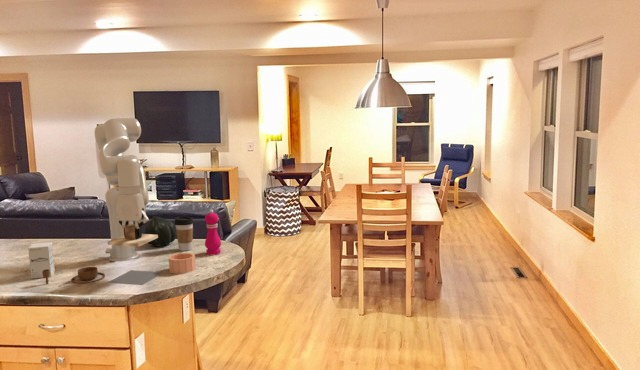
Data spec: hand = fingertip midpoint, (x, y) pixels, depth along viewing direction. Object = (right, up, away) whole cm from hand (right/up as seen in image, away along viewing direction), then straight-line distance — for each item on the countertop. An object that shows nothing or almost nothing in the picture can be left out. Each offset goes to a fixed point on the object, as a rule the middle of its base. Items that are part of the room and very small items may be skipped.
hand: (133, 237), depth 193 cm
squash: (-6, -9, +53) cm, 54 cm away
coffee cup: (+9, -10, +43) cm, 45 cm away
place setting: (-22, -17, +3) cm, 28 cm away
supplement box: (-39, -16, +9) cm, 43 cm away
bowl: (+16, -15, +10) cm, 24 cm away
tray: (+1, -16, +2) cm, 16 cm away
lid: (0, -2, 0) cm, 1 cm away
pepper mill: (+23, -11, +35) cm, 44 cm away
